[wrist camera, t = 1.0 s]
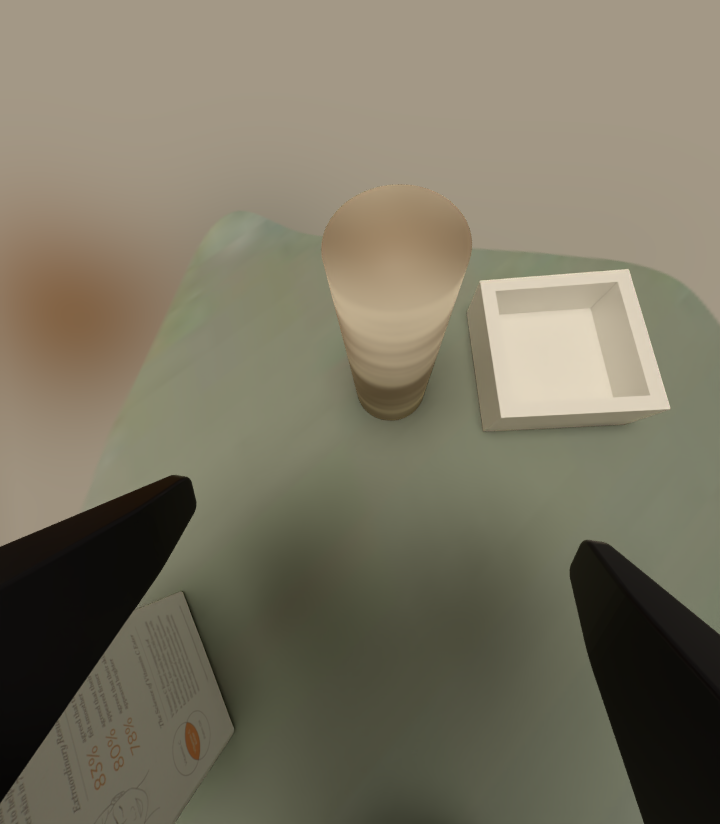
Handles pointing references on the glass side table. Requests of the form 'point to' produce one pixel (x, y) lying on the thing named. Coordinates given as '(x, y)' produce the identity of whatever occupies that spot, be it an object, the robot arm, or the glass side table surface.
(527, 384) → the white square tray
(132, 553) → the robot arm
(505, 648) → the glass side table surface
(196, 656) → the small box
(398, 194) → the tan rounded rod
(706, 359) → the glass side table surface
